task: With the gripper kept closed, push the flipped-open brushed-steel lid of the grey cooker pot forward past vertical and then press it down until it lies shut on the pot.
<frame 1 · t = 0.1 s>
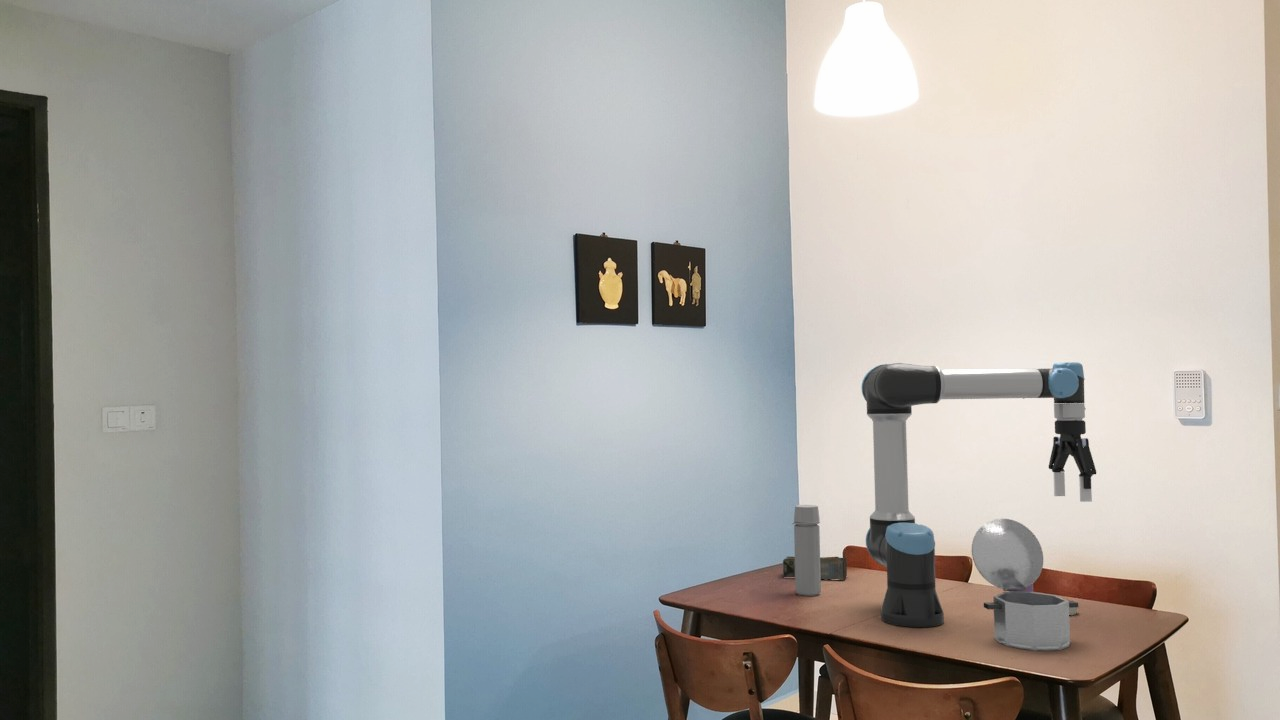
hand: (1072, 498, 244), 28 cm above the table, fingers open, 13 cm apart
pot: (1032, 641, 206), on the table
beverage carton: (815, 578, 283), on the table
lid: (1006, 555, 219), point 17 cm above the table, hinge at 109.0°
beverage can: (1021, 606, 241), on the table
grey block: (1058, 613, 234), on the table
water bottle: (806, 594, 260), on the table
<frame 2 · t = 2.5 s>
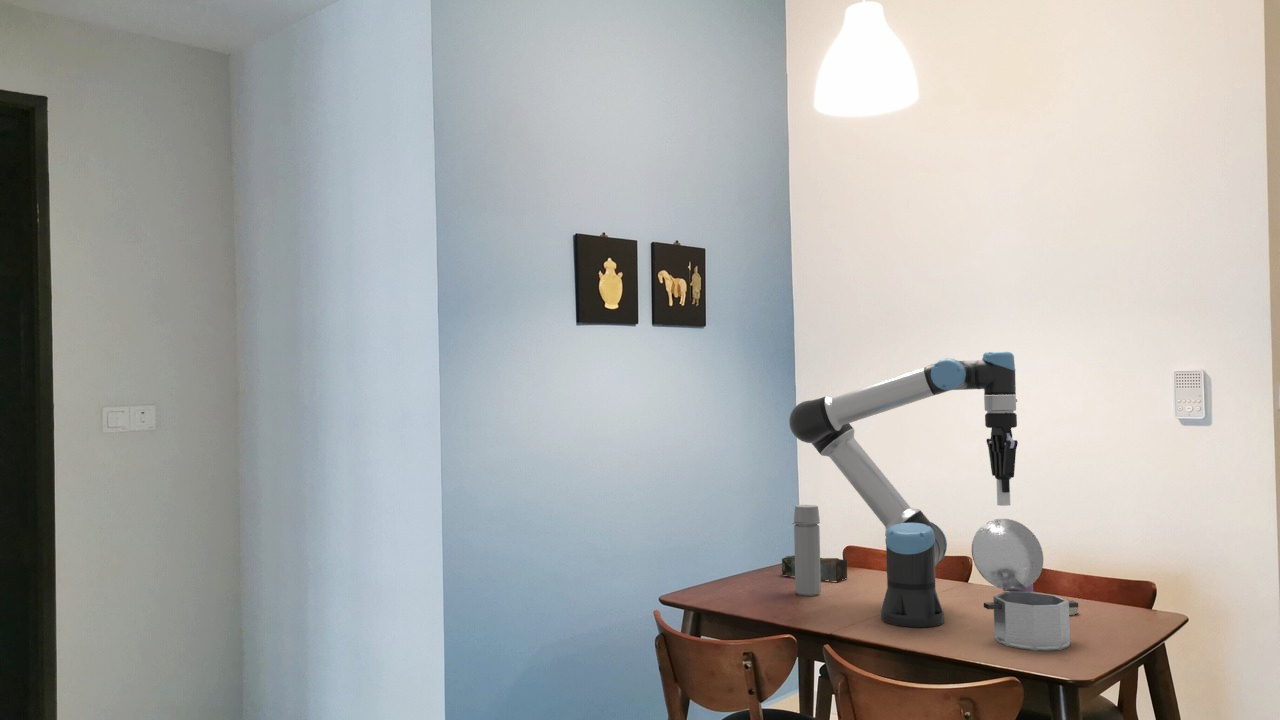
hand: (1003, 505, 230), 28 cm above the table, fingers closed
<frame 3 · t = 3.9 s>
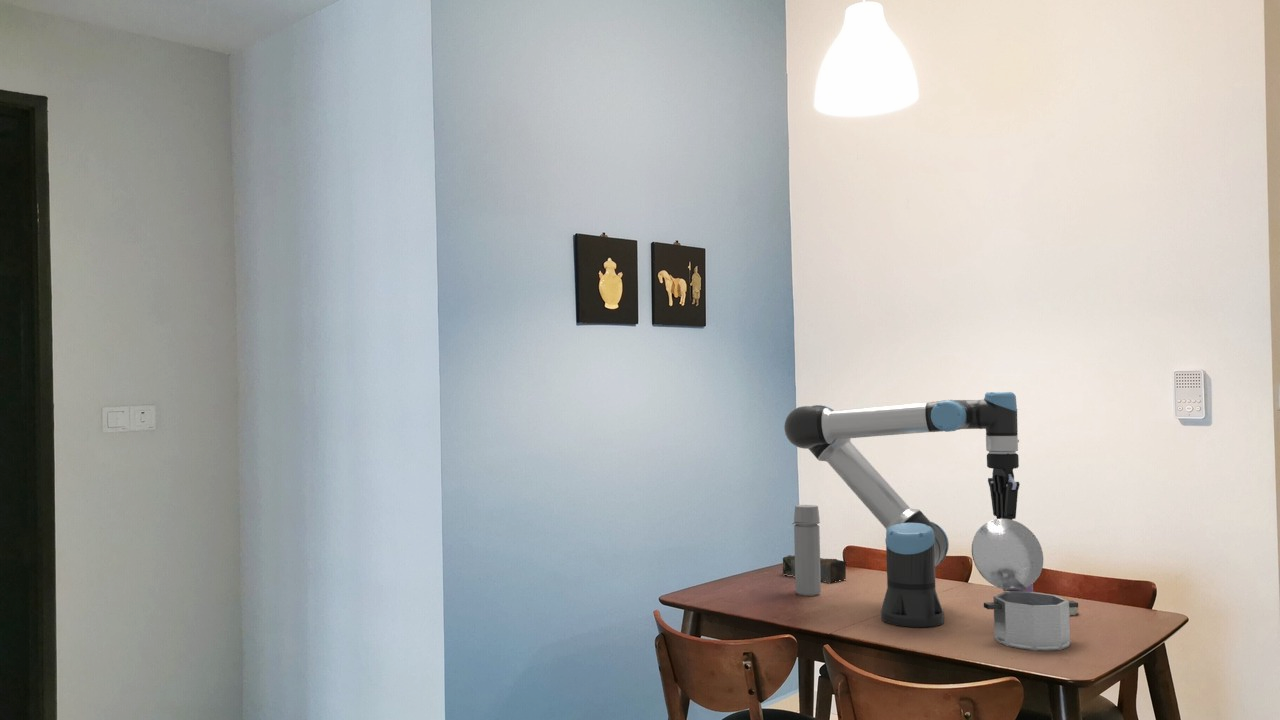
hand: (1005, 546, 229), 18 cm above the table, fingers closed
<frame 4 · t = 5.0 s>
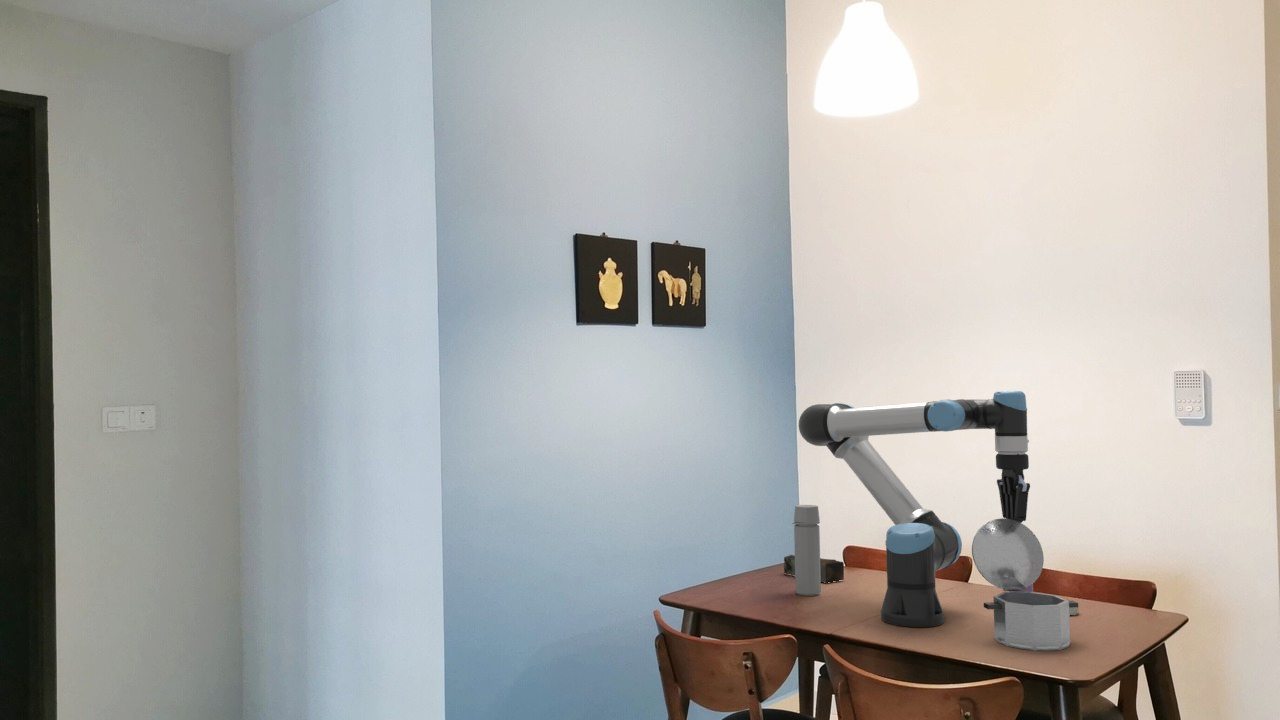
hand: (1015, 548, 224), 18 cm above the table, fingers closed
lid: (1006, 554, 219), point 18 cm above the table, hinge at 108.0°, touching gripper
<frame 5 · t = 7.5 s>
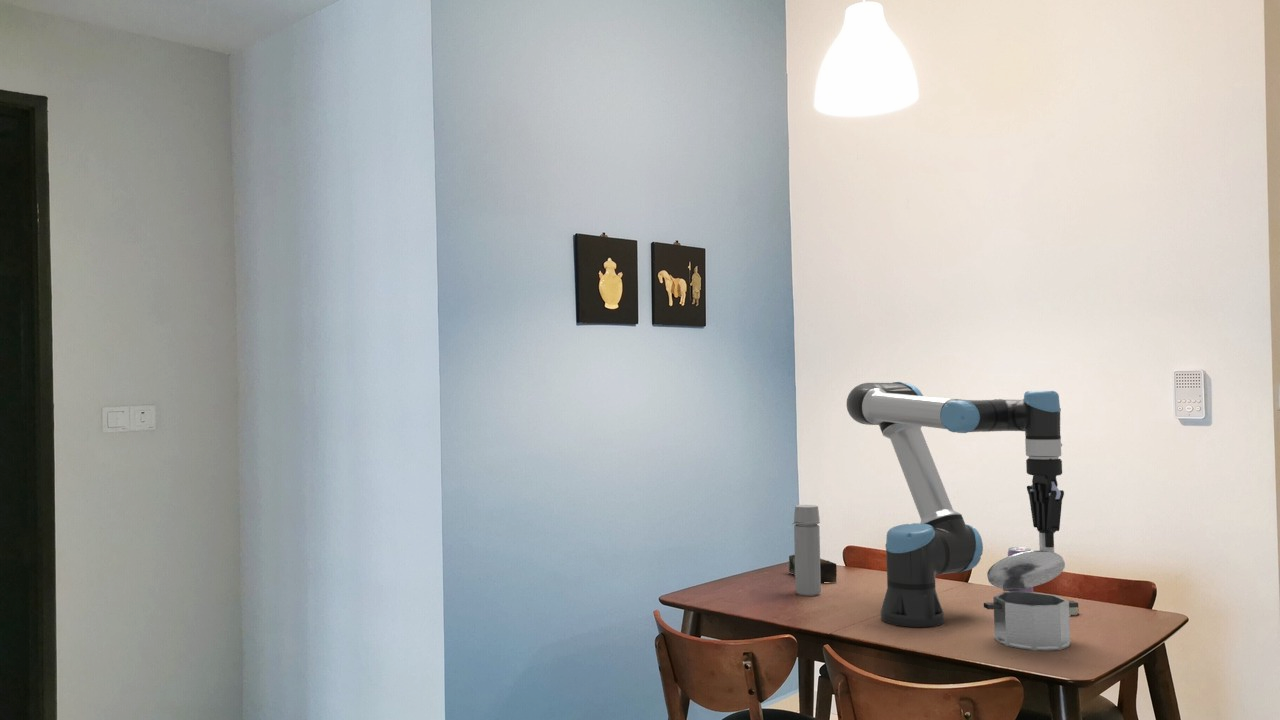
hand: (1047, 560, 208), 18 cm above the table, fingers closed
lid: (1024, 567, 209), point 16 cm above the table, hinge at 38.4°
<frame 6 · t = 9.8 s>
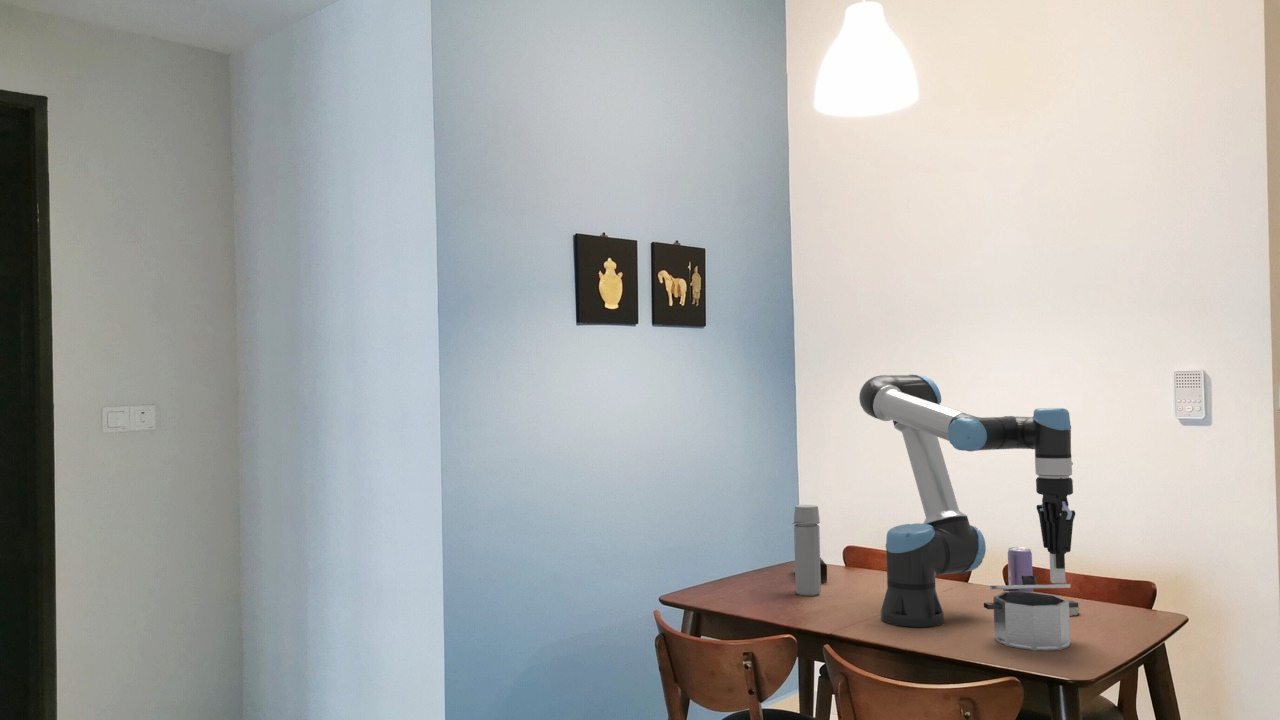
hand: (1058, 582, 203), 14 cm above the table, fingers closed
lid: (1029, 583, 207), point 13 cm above the table, hinge at 11.8°, touching gripper
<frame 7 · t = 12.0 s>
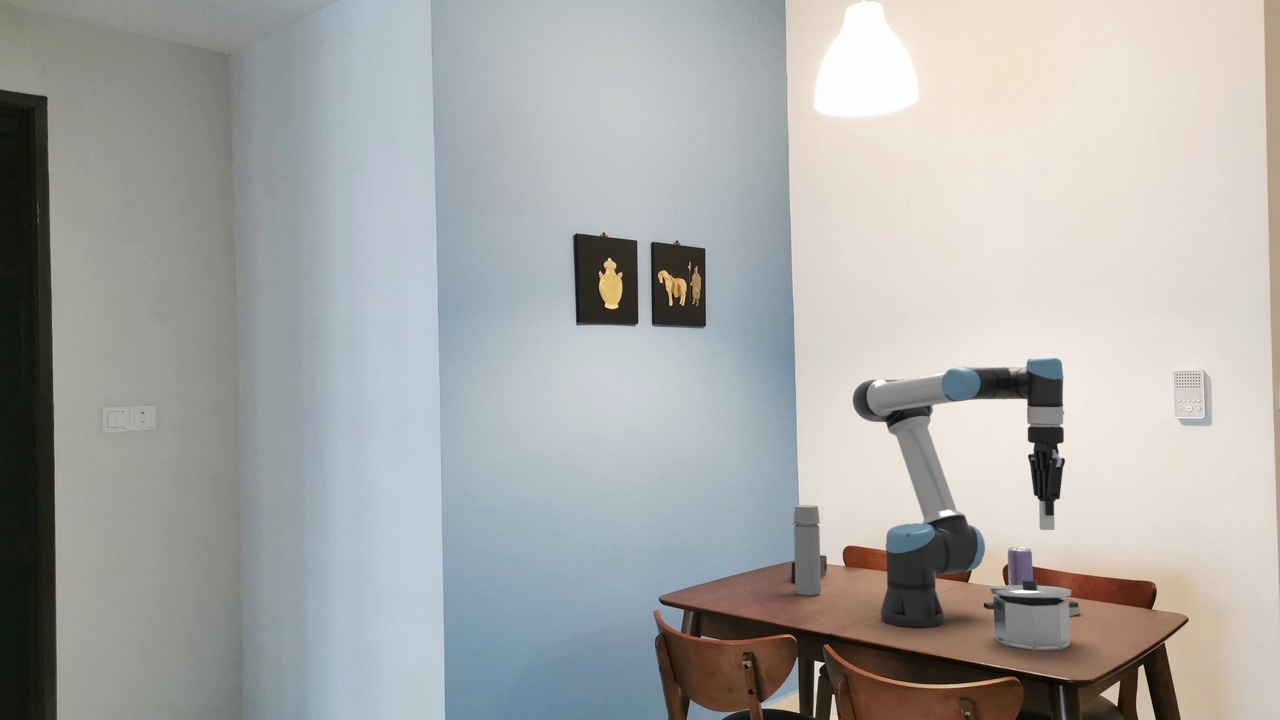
hand: (1047, 529, 206), 25 cm above the table, fingers closed
lid: (1029, 587, 207), point 12 cm above the table, hinge at 4.8°
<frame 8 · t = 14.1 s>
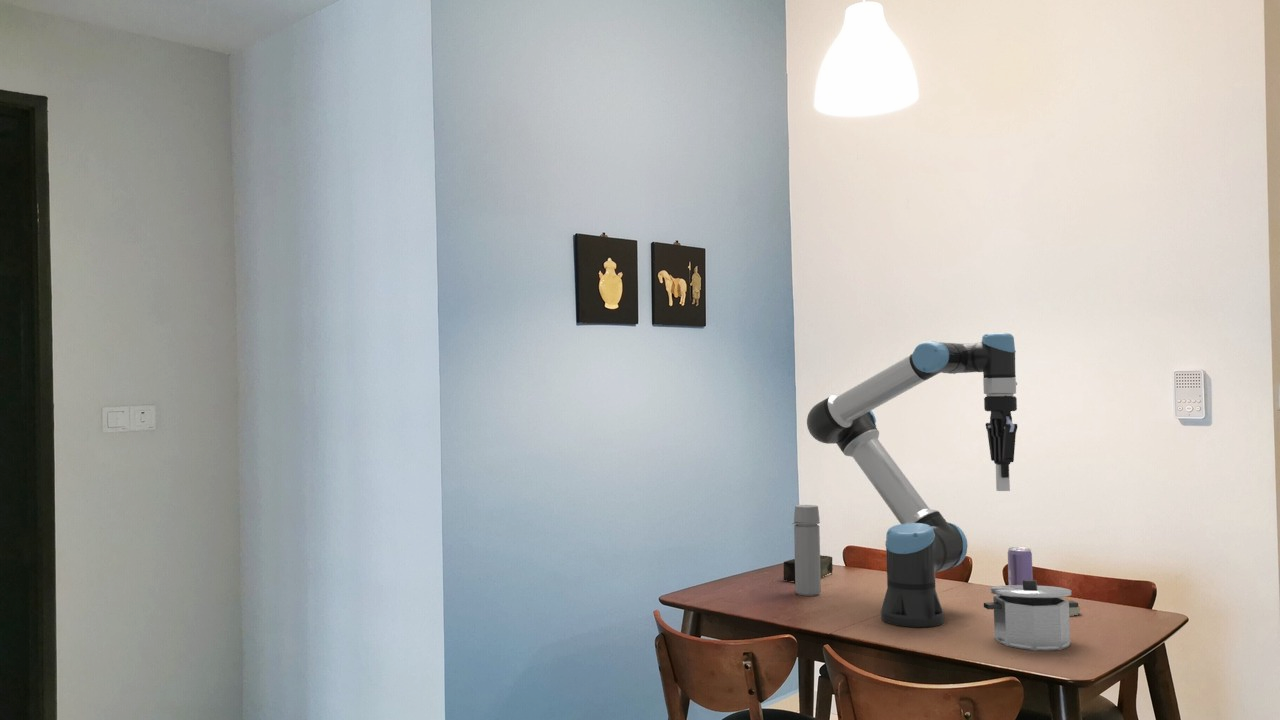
hand: (1003, 490, 224), 32 cm above the table, fingers closed
at the end: lid at +5° (first picture: +109°) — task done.
